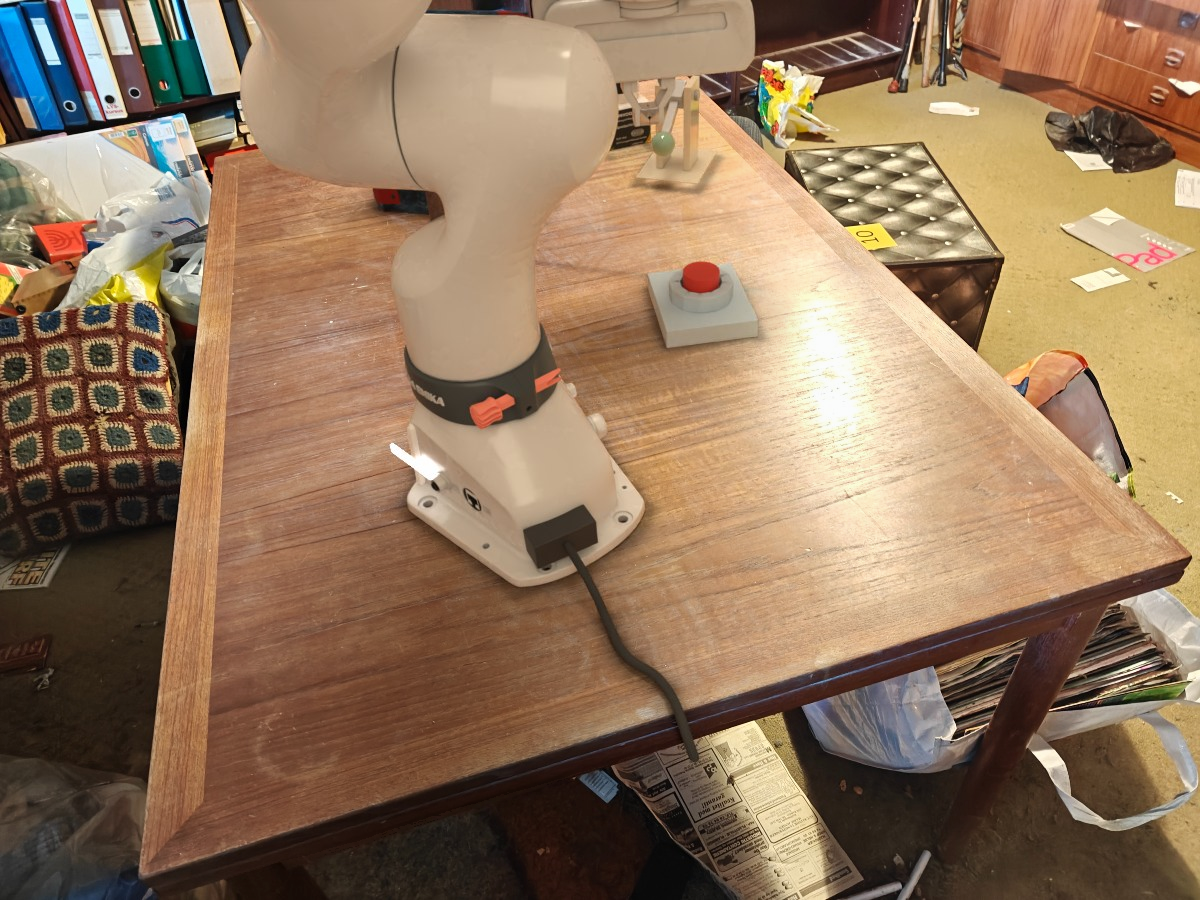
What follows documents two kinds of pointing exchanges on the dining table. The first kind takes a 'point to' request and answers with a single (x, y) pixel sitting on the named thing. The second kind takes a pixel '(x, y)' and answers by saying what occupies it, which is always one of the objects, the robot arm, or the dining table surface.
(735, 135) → the dining table surface
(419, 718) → the dining table surface
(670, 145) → the green knob lever
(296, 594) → the dining table surface
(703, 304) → the control block
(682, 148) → the ball knob lever stand
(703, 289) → the button
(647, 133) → the medicine bottle
